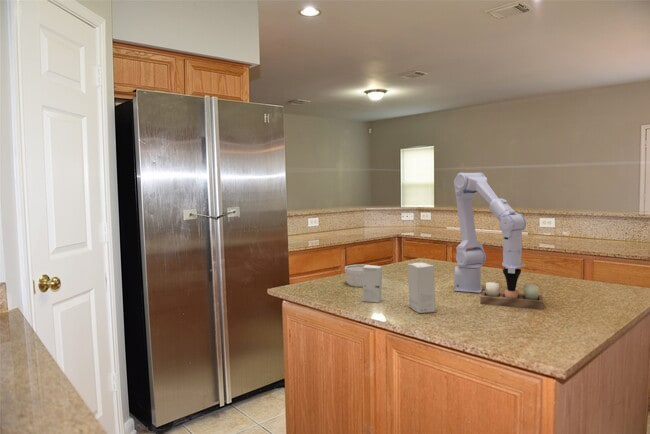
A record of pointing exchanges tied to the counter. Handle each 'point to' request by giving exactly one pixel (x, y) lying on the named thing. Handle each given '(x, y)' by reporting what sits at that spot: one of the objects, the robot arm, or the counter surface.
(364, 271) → the skincare box
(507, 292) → the terracotta button
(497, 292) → the ivory button
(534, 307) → the button panel
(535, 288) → the sage button
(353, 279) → the ramekin
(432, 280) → the skincare box
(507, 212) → the robot arm
